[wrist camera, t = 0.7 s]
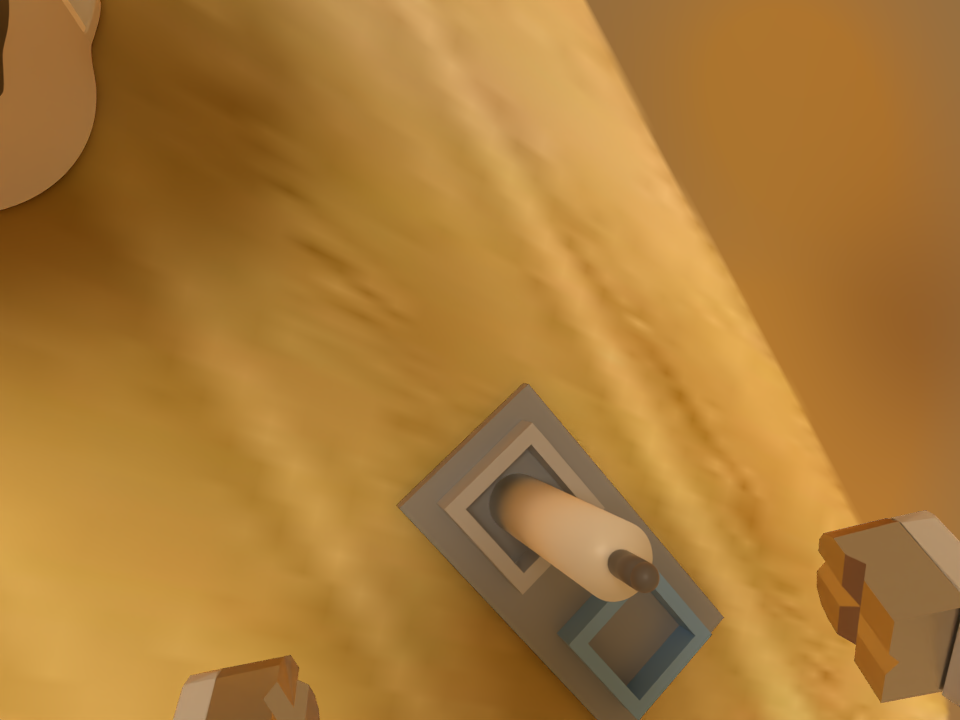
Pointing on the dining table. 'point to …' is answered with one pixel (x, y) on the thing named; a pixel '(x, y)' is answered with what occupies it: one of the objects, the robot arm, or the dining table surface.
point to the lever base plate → (545, 589)
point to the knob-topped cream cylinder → (576, 537)
